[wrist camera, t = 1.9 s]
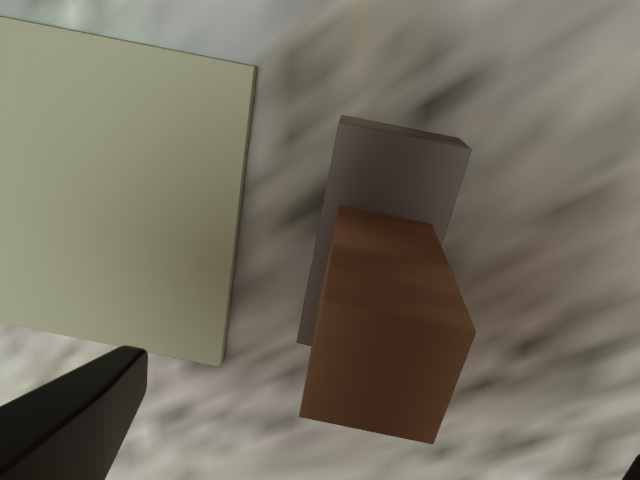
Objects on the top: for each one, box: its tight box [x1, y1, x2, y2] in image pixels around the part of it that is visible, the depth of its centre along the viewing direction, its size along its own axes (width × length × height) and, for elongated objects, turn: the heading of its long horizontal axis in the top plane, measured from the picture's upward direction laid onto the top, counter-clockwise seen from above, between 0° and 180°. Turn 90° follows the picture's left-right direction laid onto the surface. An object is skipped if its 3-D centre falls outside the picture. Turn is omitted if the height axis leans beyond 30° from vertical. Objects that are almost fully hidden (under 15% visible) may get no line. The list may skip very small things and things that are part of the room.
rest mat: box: [0, 16, 257, 367], centre depth 17 cm, size 10×12×1 cm
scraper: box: [297, 115, 476, 444], centre depth 13 cm, size 4×8×8 cm, turn 170°
